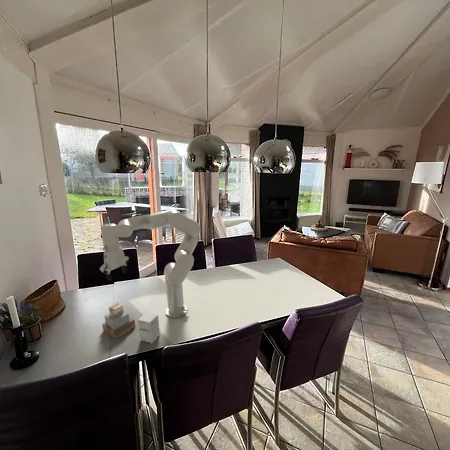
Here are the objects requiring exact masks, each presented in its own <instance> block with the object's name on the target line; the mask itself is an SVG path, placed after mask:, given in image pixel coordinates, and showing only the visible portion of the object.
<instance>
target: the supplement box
mask: <svg viewBox="0 0 450 450" xmlns="http://www.w3.org/2000/svg"><path fill="white" fill-rule="evenodd" d="M159 321H160V320H159V315H158V314H156V313H151V312H145V313H144V314H143V315H141V317H139V319H138V320H137V322H138V329H139V338H140V341H141V340H142V341H141V342H145V341H146V342H145V343H148V342H150V343H149V344H154V342H155V341H157V339H158V338H159V337H160V336H161V334H160V331H161V330H160V322H159ZM159 335H160V336H159ZM158 336H159V337H158ZM157 337H158V338H157ZM153 341H154V342H153Z"/></svg>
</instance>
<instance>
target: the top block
mask: <svg viewBox="0 0 450 450" xmlns="http://www.w3.org/2000/svg"><path fill="white" fill-rule="evenodd" d="M123 312H124V313H123V314H121V315H119V316H118V317H116V318H115V317H113V316H111V315H110V312H109V313H108V314H105V315H104V321H105V322H106V324H107V325H108V326H109V327H111V328H112V329H113V330H115V329H117V328H119V327H121V326H123V325H125V324H126V323H128V322H130V320H129V317H130V314H129V313H128V312H126V311H125V310H123ZM105 322H104V323H105Z"/></svg>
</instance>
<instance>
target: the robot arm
mask: <svg viewBox="0 0 450 450" xmlns="http://www.w3.org/2000/svg"><path fill="white" fill-rule="evenodd" d="M169 226H170V227H172V228H174V229H176V230H178V231H179V232H182V233H183V234H184V236H183V239H182V241H181V243H180V244H179V246H178V247H177V249H176V251H175V253H174V255H173V256H174V260H175V262H169V263H167V264H166V265H165V267H164V271H163V273H164V274H163V275H164V280H165V288H166V300H167V308H166V310H165V315H166V316H168V317H169V318H172V319H173V318H181V317H182V316H186V315H187V314H188V311H189V309H188V308H187V307H186V305H185V302H184V290H183V283H184V282H185V280H186V278H187V276H188V275H189V273H190V271H191V270H192V268H193V266H194V261H195V258H194V256H193V252H194V251H195V248H196V247H197V245H198V243H199V239H200V235H199V234H200V233H201V225H200V223H199V222H198V221H196V220H195V219H194V218H192V217H187V216H186V215H184V214H183V213H181V212H179V211H178V210H176V209H174V208H173V209H168V210H163V211H162V210H161V211H159V212H155V213H152V214H143V215H138V216H137V215H136V216H132V217H129V218H124V219H122V220H120V221H119V222H118V224H115V223H106V224H103V225H101V227H100V229H101V236H102V242H103V247H102V251H103V262H104V263H103V264H102V265H101V266H100V267H99V270H100V271H101V272H102V273H104V274H105V277H106V280H107V281H110V282H111V281H112V279H113V278H112V274H111V271H113V270H115V269H118V268H120V267H121V272H122V273H123V274H127V273H128V270H127V266H128V263H129V259H130V257H129V256H127V255H126V256H125V252H124V250H123V248H122V246H121V244H120V239H119V238H128V237H130V236H131V235H132V234H133V231H137V230H141V229H146V230H156V229H161V228H164V227H169Z"/></svg>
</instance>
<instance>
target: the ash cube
mask: <svg viewBox="0 0 450 450" xmlns="http://www.w3.org/2000/svg"><path fill="white" fill-rule="evenodd" d="M108 310H109V313H110V315H111V316H113V317H115V318H116V317H118V316H119V315H121V314H123V313H124V312H123V311H124V306H123V304H121V303H119V302H114V303H113V304H111V305H109V306H108Z"/></svg>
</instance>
